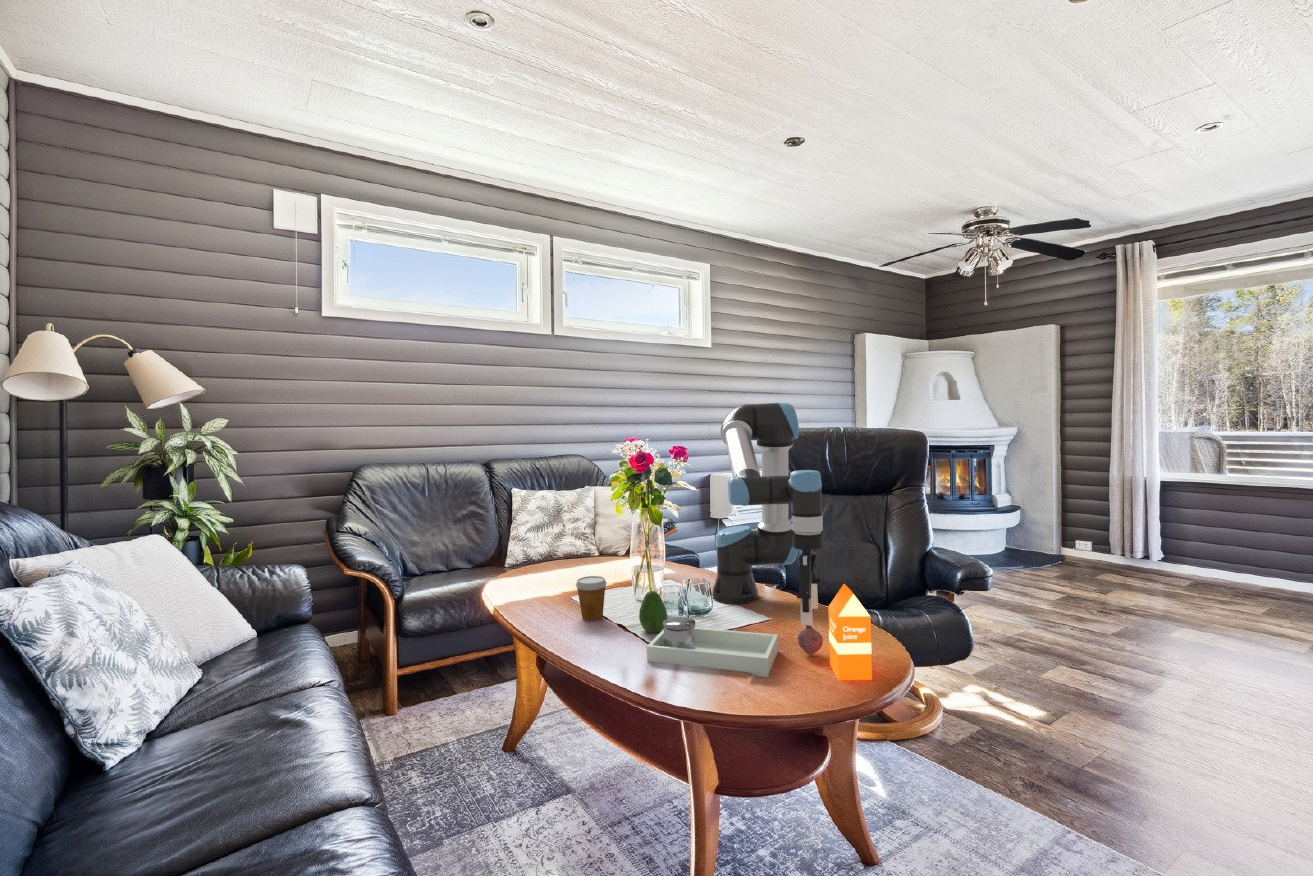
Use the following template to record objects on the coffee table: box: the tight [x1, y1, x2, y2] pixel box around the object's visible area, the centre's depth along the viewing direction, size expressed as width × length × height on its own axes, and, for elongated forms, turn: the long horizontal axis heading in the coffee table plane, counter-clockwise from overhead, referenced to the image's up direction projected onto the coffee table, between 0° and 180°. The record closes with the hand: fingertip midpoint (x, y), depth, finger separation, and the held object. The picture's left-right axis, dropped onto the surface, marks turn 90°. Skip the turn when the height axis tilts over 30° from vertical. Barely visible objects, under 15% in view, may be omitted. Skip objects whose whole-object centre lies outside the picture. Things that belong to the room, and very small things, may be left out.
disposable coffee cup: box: [575, 575, 607, 622], centre depth 192 cm, size 10×10×12 cm
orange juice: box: [828, 583, 873, 681], centre depth 146 cm, size 8×9×20 cm
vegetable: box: [797, 625, 824, 656], centre depth 157 cm, size 6×6×10 cm
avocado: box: [638, 590, 668, 634], centre depth 176 cm, size 8×8×12 cm
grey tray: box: [646, 627, 780, 678], centre depth 157 cm, size 16×30×4 cm, turn 70°
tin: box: [663, 616, 696, 649], centre depth 160 cm, size 8×8×8 cm
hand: (809, 616), depth 156 cm, fingers open, 13 cm apart
